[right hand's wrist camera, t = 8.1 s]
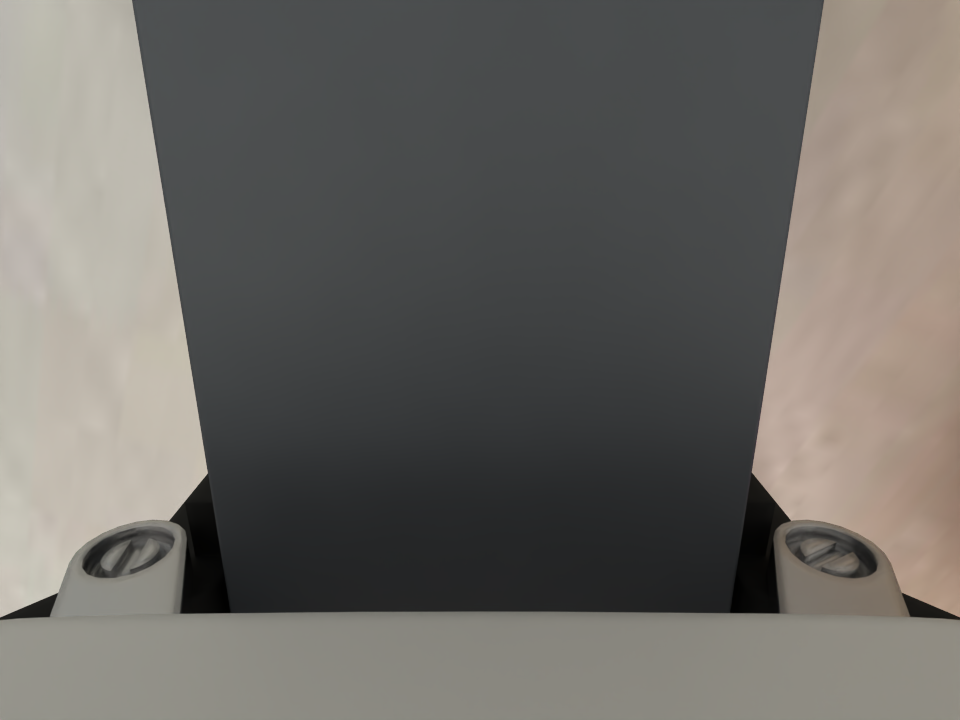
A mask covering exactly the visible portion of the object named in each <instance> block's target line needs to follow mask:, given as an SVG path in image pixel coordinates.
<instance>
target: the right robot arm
mask: <svg viewBox="0 0 960 720" xmlns="http://www.w3.org/2000/svg"><path fill="white" fill-rule="evenodd" d="M0 720H960V617H957V616H955V615H953V614H950V613H948V612H946V611H943V610H941V609H939V608H936V607H934V606H932V605H929V604H927V603H925V602H922V601H920V600H918V599H915V598H913V597H910V596H908V595H906V594H903V593H901V590H900V587H899V584H898V582H897V579H896V576H895V573H894V571H893V568H892V565H891V563H890V561H889V560H888V558H887V556H886V555H885V553H884V552H883V551H882V550H881V549H879V548H878V547H877V546H876V545H875V544H874V543H873V542H871V541H869V540H868V539H866V538H864V537H863V536H861V535H859V534H858V533H855V532H853V531H851V530H848V529H846V528H843V527H841V526H837V525H834V524H830V523H826V522H821V521H813V520H796V521H791V520H790V519H789V518H788V516H787V515H786V514H785V513H784V512H783V510H782V509H781V508H780V507H779V505H778V504H777V503H776V502H775V501H774V499H773V498H772V497H771V496H770V494H769V493H768V492H767V491H766V490H765V488H764V487H763V486H762V485H761V483H760V482H759V481H758V480H757V478H756V477H755V476H754V475H753V474H752V472H751V479H750V485H749V492H748V498H747V505H746V512H745V518H744V525H743V531H742V538H741V544H740V551H739V557H738V564H737V570H736V577H735V583H734V590H733V596H732V603H731V609H730V613H643V612H303V613H230V607H229V600H228V594H227V588H226V582H225V576H224V569H223V563H222V557H221V551H220V544H219V538H218V532H217V526H216V519H215V513H214V507H213V501H212V495H211V488H210V482H209V476H208V474H207V475H206V477H205V478H204V479H203V480H202V481H201V483H200V484H199V485H198V486H197V488H196V489H195V490H194V491H193V492H192V494H191V495H190V496H189V497H188V499H187V500H186V501H185V502H184V503H183V505H182V506H181V507H180V508H179V510H178V511H177V512H176V513H175V514H174V516H173V517H172V518H171V519H170V521H164V520H147V521H139V522H134V523H130V524H126V525H123V526H119V527H117V528H114V529H112V530H109V531H107V532H105V533H102V534H101V535H99V536H97V537H96V538H94V539H92V540H91V541H89V542H87V543H86V544H85V545H84V546H83V547H82V548H81V549H79V550H78V551H77V552H76V553H75V555H74V556H73V558H72V560H71V561H70V563H69V565H68V568H67V571H66V573H65V576H64V579H63V582H62V584H61V587H60V590H59V593H57V594H54V595H52V596H50V597H47V598H45V599H43V600H40V601H38V602H36V603H33V604H31V605H29V606H26V607H24V608H22V609H19V610H17V611H15V612H12V613H10V614H8V615H5V616H3V617H1V618H0Z"/></svg>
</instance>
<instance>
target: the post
mask: <svg viewBox="0 0 960 720" xmlns="http://www.w3.org/2000/svg"><path fill="white" fill-rule="evenodd" d="M132 2H133V8H134V15H135V21H136V27H137V33H138V40H139V46H140V52H141V58H142V64H143V71H144V77H145V83H146V89H147V96H148V102H149V108H150V114H151V121H152V127H153V133H154V139H155V145H156V152H157V158H158V164H159V170H160V177H161V183H162V189H163V195H164V202H165V208H166V214H167V220H168V227H169V233H170V239H171V245H172V251H173V258H174V264H175V270H176V276H177V283H178V289H179V295H180V301H181V308H182V314H183V320H184V326H185V332H186V339H187V345H188V351H189V357H190V364H191V370H192V376H193V382H194V389H195V395H196V401H197V407H198V413H199V420H200V426H201V432H202V438H203V445H204V451H205V457H206V463H207V470H208V476H209V482H210V488H211V495H212V501H213V507H214V513H215V519H216V526H217V532H218V538H219V544H220V551H221V557H222V563H223V569H224V576H225V582H226V588H227V594H228V600H229V607H230V613H303V612H643V613H730V609H731V603H732V596H733V590H734V583H735V577H736V570H737V564H738V557H739V551H740V544H741V538H742V531H743V525H744V518H745V512H746V505H747V498H748V492H749V485H750V479H751V472H752V466H753V459H754V453H755V446H756V440H757V433H758V427H759V420H760V414H761V407H762V401H763V394H764V388H765V381H766V375H767V368H768V362H769V355H770V349H771V342H772V336H773V329H774V322H775V316H776V309H777V303H778V296H779V290H780V283H781V277H782V270H783V264H784V257H785V251H786V244H787V238H788V231H789V225H790V218H791V212H792V205H793V199H794V192H795V186H796V179H797V173H798V166H799V160H800V153H801V146H802V140H803V133H804V127H805V120H806V114H807V107H808V101H809V94H810V88H811V81H812V75H813V68H814V62H815V55H816V49H817V42H818V36H819V29H820V23H821V16H822V10H823V3H824V0H132Z"/></svg>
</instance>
